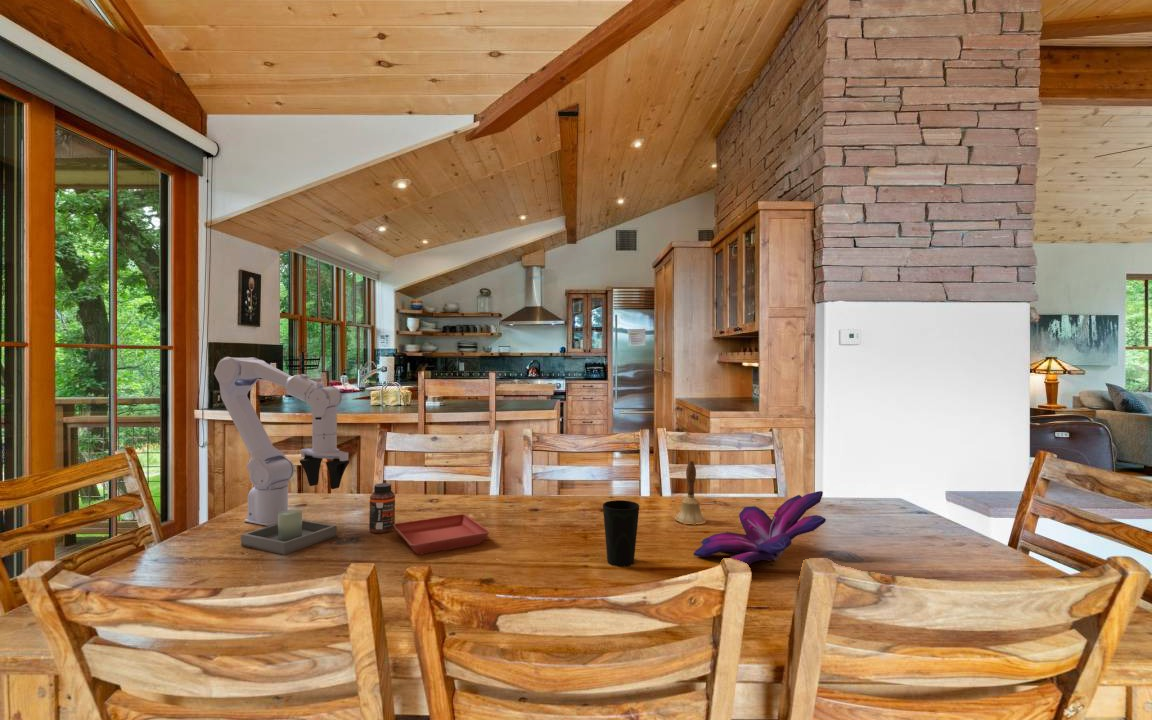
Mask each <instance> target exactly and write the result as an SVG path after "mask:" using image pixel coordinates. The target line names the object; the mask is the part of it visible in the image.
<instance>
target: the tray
mask: <svg viewBox="0 0 1152 720" xmlns="http://www.w3.org/2000/svg"><path fill="white" fill-rule="evenodd" d="M337 531H338V526H337V524H336V525H335V524H328V523H323V522H318V521H313V520H312V521H311V520H308V519H302V536H301V537H298V538H295V539H292V540H289V541H286V542H284V541H279V540H278V523H277V524H274V525H270V526H265V527H262V528H258V529H255V530H251V531H248V532H245V533H242V534H240V546H241V545H242V547H245V546H246V547H245V548H250V547H251V548H250V549H255V550H260V551H265V552H270V553H275V554H278V555H284V556H285V555H288V554H291V553H293V552H296V551H299V550H302V549H304V548H307V547H310V546H313V545H316V544H319V543H321V542H324V541H327V540H329V539H333V538H336V537H337V536H338V532H337Z"/></svg>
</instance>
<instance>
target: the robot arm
mask: <svg viewBox="0 0 1152 720" xmlns="http://www.w3.org/2000/svg"><path fill="white" fill-rule="evenodd" d="M213 374H214V376H215V378H216V380H217V382H218V384H219V393H220V394H219V395H220V399H221V400H222V403H223V405H224V406H225V408H226V410H227V412H228V414H229V416H230V418H231V419H232V421H233V424H234V425H235V428H236V430H237V431H238V433H239V436H240V437H241V439H242V441H243V443H244V446H245V447H246V449H247V451H248V454H249V455H250V459H249V461H248V463H247V464H246V467H247V469H248V472H249V480H250V483H251V485H253V487H252V488H251V489H250V490H249V492H248V494H247V515H246V516H247V518H245V519H244V522H247V523H250V524H256V525H260V526H261V525H262V526H265V527H268V526H271V525H275V524H278V513H280V512H282V511H287V510H289V484H290V480H291V479H292V478H293V476H294V474H295V466H294V463H293V462H292V460H290V458H287V456H286V455H285V453H284V452H283V451H282V450H280V449H278V448H276V447H274V445H273V443H272V441H271V439H270V437H269V435H268V434H267V432H266V430H265V427H264V426H263V424H262V422H261V420H260V418H259V416H258V414H257V412H256V410H255V409H254V406H253V403H252V402H251V401H250V399H249V397H248V394H249V392H251V390H252V389H253V387H254V386H255V384H256V383H257V382H258V381H259V379H261V380H265V381H267V382H269V383H273V384H274V385H277V386H279V387H283V388H285V392H286V394H287V395H289V396H290V397H294V398H295V399H297V400H299V401H302V402H304V403H307V405H308V407H310V409H311V415H312V420H311V421H312V433H311V434H312V441H311V443H312V445H311V446H312V447H311V448H309V447H308V448H302V449H300V450H301V451H300V454H301V455H300V456H301V457H302V458H301V459H299V464H300V465H301V466H302V468H303V470H304V473H305V475H306V478H307V483H308V486H309V487H313V486H317V485H318V484H319V479H320V470H321V466H322V465H321V464H322V462H323V459H325V460H329V461H325V465H326V468H327V471H328V474H329V486H330V489H331V490H334V489H340V486H341V482H342V478H343V475H344V472H345V471H346V468H347V467H348V465H349V463H350V460H349V452H346V451H342V450H340V448H338V447H337V445H338V444H337V442H338V441H337V440H338V435H337V434H338V427H337V426H338V407H339V406H340V404H341V402H342V393H341V391H340V390H339V388H336V387H335V386H333V385H328V386H325V385H324V382H320V381H319V382H318V381H315V380H313V379H310V378H309V375H308V374H305V373H301V374H295V375H293V376H292V375H290V374H288V373H287V372H285V371H282V370H281V369H278V368H277V367H275V366H273V365H271V364H270V363H268V362H266V361H265V360H263V359H258V358H257V357H255V356H254V357H252V356H251V357H231V356H226V357H222V358H221V359H220V360H219V361H218V362H217V364H216V368H215V370H214V372H213Z"/></svg>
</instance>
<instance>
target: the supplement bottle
mask: <svg viewBox="0 0 1152 720" xmlns="http://www.w3.org/2000/svg"><path fill="white" fill-rule="evenodd" d="M373 487H374V488H373V493H371V494H370V495H369V496H370V497H369V516H368V517H369V518H368V519H369V520H368V521H369V524H368V527H369V531H370V532H371V533H374V534H385V533H389V532H392V531H393V530H395V528H394V526H393V525H394V524H396V522H395V521H396V516H395V514H396V494H395V492H393V491H392V483H388V482H379V483H376V484H374V485H373Z"/></svg>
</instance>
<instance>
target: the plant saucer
mask: <svg viewBox="0 0 1152 720" xmlns="http://www.w3.org/2000/svg"><path fill="white" fill-rule="evenodd" d="M393 526H394V530H395V531H396V533H398V535H399V536H400V537H401V538H402V539H403V540H404V541H405V542H406V544H407V545H408V546H409V547H410V549H411V550H412V551H413V552H414V553H415V554H416V555H422V554H421V553H425V554H429V553H428V552H430V553H435V551H436V552H441V550H442V551H446V550H452V549H458V548H464V547H470V546H475V545H480V543H482V541H484V540H485V539H486V537H487V536H488V535H489V534H490V530H488V529H487V528H485V526H482V525H481V524H480V523H479V522H477V521H475V520H474V519H473V518H471V517H469V516H468V515H467V514H465V513H461V514H454V515H453V514H452V515H446V516H440V517H433V518H426V519H419V520H413V521H412V520H411V521H404V522H399V523H395V524H394V525H393Z"/></svg>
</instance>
